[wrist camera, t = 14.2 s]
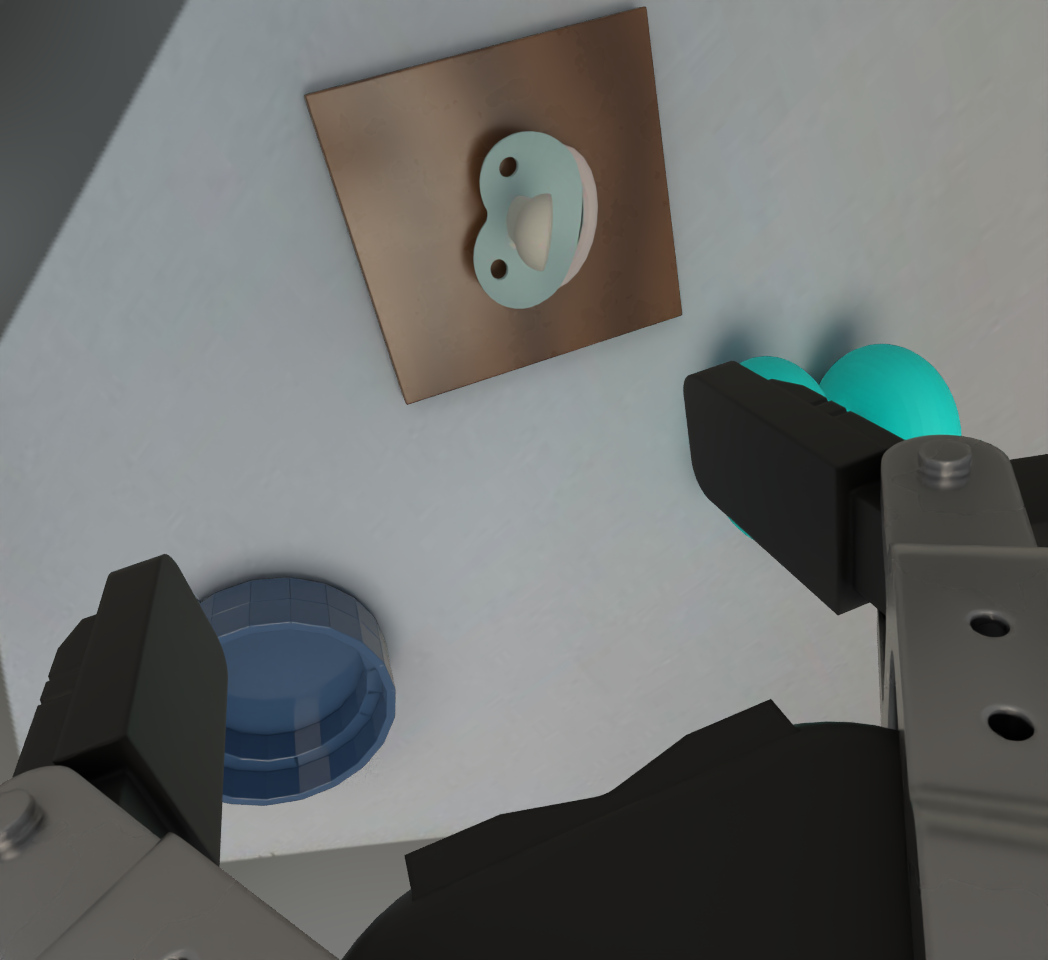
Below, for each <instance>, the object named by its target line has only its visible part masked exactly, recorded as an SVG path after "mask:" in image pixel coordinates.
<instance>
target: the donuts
mask: <svg viewBox="0 0 1048 960" xmlns="http://www.w3.org/2000/svg"><path fill="white" fill-rule="evenodd" d="M739 364H741V365H743V366H744V367H746V368H748V369H750V370H751V371H753V372H755V373H757V374H759V375H760V376H762V377H764V378H766V379H767V380H770V379H776V380H781V381H785V382H790V383H795V384H800V385H804V386H806V387H808V388H810V389H811V390H813V391H815V392H817V393H819V394H821V395H823V396H824V397H826V398H827V400H828V401H831V400H832V401H834V402H836V403H837V404H839V405H841V406H843V407H845V408H846V411H847V412H848V411H852V412H854V413H856V414H858V415H860V416H862V417H864V418H865V419H867V420H869V421H871V422H873V423H875V424H877V425H878V426H880V427H882V428H884V429H886V430H888V431H890V432H891V433H893V434H895V435H897V436H899V437H901V438H903V439H904V440H907V439H911V438H915V437H920V436H927V435H957V436H961V425H960V420H959V414H958V410H957V407H956V404H955V401H954V399H953V396H952V394H951V392H950V390H949V388H948V386H947V384H946V383H945V381H944V380H943V378H942V377H941V375H940V374H939V373H938V372H937V370H936V369H935V368H934V367H933V366H932V365H931V364H930V363H929V362H927V361H926V360H925V359H924V358H922V357H921V356H919V355H918V354H916V353H914V352H912V351H910V350H908V349H906V348H903V347H900V346H895V345H890V344H874V345H868V346H864V347H861V348H858V349H855V350H853V351H851V352H849V353H848V354H846V355H845V356H843V357H842V358H840V359H839V360H838V361H837V362H836V363H835V364H834V365H833V366H832V367H831V368H830V369H829V370H828V372H827V373H826V374H825V376H824V377H823V379H822V380H821V382H820V384H819V385H818V383H817V382H816V381H815V380H814V379H813V378H812V377H811V376H810V375H809V374H808V373H807V372H806V371H804V370H803V369H802V368H800V367H799V366H797V365H796V364H794V363H792V362H790V361H787V360H785V359H782V358H778V357H771V356H761V357H754V358H750V359H748V360H745V361H743V362H741V363H739ZM728 518H729V517H728ZM729 519H730V518H729ZM730 520H731V519H730ZM731 522H732V523H733V524H734V525H735V526H736V527H737V528H738V529H739V530H740V531H742V532H743V533H744V534H745V535H747V536H748V537H750V536H749V535H748V534H747V533H746V532H745V531H744V530H742V529H741V528H740V527H739V526H738V525H737V524H736V523H735V522H734V521H732V520H731ZM750 538H751V537H750ZM751 539H752V538H751ZM753 540H754V539H753Z"/></svg>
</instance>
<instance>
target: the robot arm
mask: <svg viewBox="0 0 1048 960" xmlns="http://www.w3.org/2000/svg"><path fill="white" fill-rule="evenodd" d="M683 392H684V401H685V410H686V418H687V426H688V435H689V443H690V452H691V460H692V466H693V470H694V473H695V476H696V479H697V481H698V484H699V486H700V488H701V489H702V491H703V492H704V494H705V495H706V497H707V498H708V499H709V500H710V501H711V502H712V503H714V504H715V505H716V506H717V507H718V508H719V509H720V510H721V511H722V512H724V513H725V514H726V515H727V516H728V517H729V518H730V519H731V520H732V521H734V522H735V523H736V524H737V525H738V526H739V527H740V528H741V529H742V530H744V531H745V532H746V533H747V534H748V535H749V536H750V537H751V538H752V539H754V540H755V541H756V542H757V543H758V544H759V545H760V546H761V547H762V548H764V549H765V550H766V551H767V552H768V553H769V554H770V555H771V556H772V557H774V558H775V559H776V560H777V561H778V562H779V563H780V564H781V565H782V566H784V567H785V568H786V569H787V570H788V571H789V572H790V573H791V574H792V575H794V576H795V577H796V578H797V579H798V580H799V581H800V582H801V583H802V584H804V585H805V586H806V587H807V588H808V589H809V590H810V591H811V592H812V593H814V594H815V595H816V596H817V597H818V598H819V599H820V600H821V601H822V602H824V603H825V604H826V605H827V606H828V607H829V608H830V609H831V610H832V611H834V612H835V613H836V614H837V615H840V614H843V613H845V612H848V611H850V610H852V609H855V608H857V607H860V606H862V605H864V604H867V603H869V602H870V603H871V604H873V605H874V606H875V607H876V608H877V644H878V667H879V689H880V712H881V727H880V726H876V725H869V724H861V723H852V722H814V723H801V724H795V725H793V724H792V723H791V722H790V721H789V720H788V718H787V717H786V716H785V715H784V714H783V713H782V711H781V710H780V709H779V708H778V707H777V706H776V704H775V703H774V702H773V701H772V700H771V699H770V700H767V701H765V702H763V703H760V704H758V705H756V706H753V707H751V708H749V709H746V710H744V711H742V712H739V713H737V714H735V715H732V716H730V717H728V718H725V719H723V720H721V721H718V722H716V723H714V724H711V725H709V726H706V727H704V728H702V729H699V730H697V731H695V732H692V733H690V734H688V735H686V736H685V737H683V738H682V739H680V740H679V741H678V742H676V743H675V744H674V745H672V746H671V747H670V748H668V749H667V750H666V751H664V752H663V753H662V754H660V755H659V756H658V757H656V758H655V759H654V760H652V761H651V762H650V763H648V764H647V765H646V766H644V767H643V768H642V769H640V770H639V771H638V772H636V773H635V774H634V775H632V776H631V777H630V778H628V779H627V780H626V781H624V782H623V783H622V784H620V785H619V786H618V787H616V788H615V789H613V790H612V791H610V792H609V793H606V794H604V795H601V796H598V797H593V798H588V799H582V800H577V801H571V802H566V803H560V804H555V805H549V806H544V807H538V808H533V809H527V810H522V811H516V812H511V813H506V814H500V815H498V816H495V817H493V818H491V819H488V820H486V821H484V822H481V823H479V824H477V825H474V826H472V827H470V828H467V829H465V830H463V831H460V832H458V833H456V834H453V835H451V836H449V837H446V838H444V839H442V840H439V841H437V842H435V843H432V844H430V845H427V846H425V847H423V848H420V849H419V850H416V851H413V852H411V853H409V854H406V855H405V860H406V865H407V871H408V876H409V881H410V886H411V890H409V891H408V892H406V893H405V894H404V895H402V896H401V897H400V898H399V899H397V900H396V901H395V902H394V903H393V904H391V905H390V906H389V907H388V908H387V909H386V910H385V911H384V912H383V913H381V914H380V915H379V916H378V917H377V918H376V919H375V920H374V921H373V923H371V925H370V926H369V927H368V928H367V929H366V930H365V931H364V932H363V933H362V934H361V936H360V937H359V938H358V939H357V940H356V942H354V944H353V945H352V947H351V948H350V949H349V950H348V952H347V953H346V954H345V956H344V957H343V958H342V960H1048V454H1045V455H1038V456H1032V457H1025V458H1019V459H1012V460H1009V458H1008V457H1007V455H1006V454H1005V453H1004V452H1003V451H1001V450H1000V449H998V448H997V447H995V446H993V445H991V444H989V443H986V442H984V441H981V440H978V439H974V438H970V437H964V436H957V435H927V436H920V437H915V438H911V439H907V440H904V439H903V438H901V437H899V436H897V435H895V434H893V433H891V432H890V431H888V430H886V429H884V428H882V427H880V426H878V425H877V424H875V423H873V422H871V421H869V420H867V419H865V418H864V417H862V416H860V415H858V414H856V413H854V412H852V411H848V412H847V411H846V408H845V407H843V406H841V405H839V404H837V403H836V402H834V401H832V400H831V401H828V400H827V398H826V397H824V396H823V395H821V394H819V393H817V392H815V391H813V390H811V389H810V388H808V387H806V386H804V385H800V384H795V383H790V382H785V381H781V380H776V379H770V380H767V379H766V378H764V377H762V376H760V375H759V374H757V373H755V372H753V371H751V370H750V369H748V368H746V367H744V366H743V365H741V364H739V363H737V362H735V361H729V362H726V363H723V364H720V365H717V366H714V367H712V368H709V369H706V370H703V371H700V372H697V373H694V374H691V375H688V376H687V377H686V379H685V381H684V387H683ZM48 677H49V680H50V681H48V682H46V684H45V687H44V690H43V692H42V695H41V698H40V701H41V705H38V707H37V709H36V712H35V715H34V718H33V721H32V724H31V726H30V729H29V732H28V735H27V738H26V741H25V743H24V746H23V749H22V752H21V755H20V757H19V760H18V763H17V766H16V769H15V772H14V775H13V778H11V779H9V780H7V781H6V782H4V783H2V784H1V785H0V960H339V959H338V958H337V957H335V956H334V955H333V954H331V953H330V952H329V951H328V950H326V949H325V948H324V947H322V946H321V945H320V944H318V943H317V942H316V941H314V940H313V939H312V938H311V937H309V936H308V935H307V934H305V933H304V932H303V931H302V930H300V929H299V928H298V927H296V926H295V925H294V924H292V923H291V922H290V921H288V920H287V919H286V918H284V917H283V916H282V915H281V914H279V913H278V912H277V911H276V910H274V909H273V908H272V907H270V906H269V905H268V904H266V903H265V902H264V901H262V900H261V899H260V898H259V897H257V896H256V895H254V894H253V893H252V892H251V891H249V890H248V889H247V888H245V887H244V886H243V885H242V884H240V883H239V882H238V881H237V880H235V879H234V878H232V877H231V876H230V875H229V874H227V873H226V872H225V871H224V870H222V869H221V868H220V867H219V864H220V842H221V820H222V798H223V777H224V755H225V733H226V711H227V690H228V670H227V664H226V659H225V656H224V652H223V649H222V646H221V644H220V641H219V639H218V637H217V635H216V633H215V631H214V629H213V628H212V626H211V624H210V622H209V620H208V619H207V617H206V615H205V613H204V612H203V610H202V608H201V606H200V604H199V603H198V601H197V599H196V597H195V595H194V594H193V592H192V590H191V588H190V586H189V585H188V583H187V581H186V579H185V578H184V576H183V574H182V572H181V570H180V569H179V567H178V565H177V564H176V562H175V561H174V560H173V559H172V558H171V557H170V556H169V555H167V554H163V555H160V556H157V557H154V558H152V559H149V560H146V561H143V562H140V563H137V564H134V565H131V566H128V567H125V568H122V569H120V570H117V571H114V572H111V573H110V574H109V576H108V578H107V581H106V585H105V588H104V591H103V594H102V598H101V601H100V604H99V608H98V611H97V614H96V615H93V616H90V617H87V618H85V619H82V620H81V621H80V622H79V624H78V625H77V626H76V627H75V629H74V630H73V631H72V632H71V633H70V635H69V636H68V637H67V638H66V639H65V641H64V642H63V643H62V644H61V646H60V647H59V648H58V650H57V653H56V656H55V658H54V661H53V664H52V667H51V670H50V673H49V675H48Z"/></svg>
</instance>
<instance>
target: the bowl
mask: <svg viewBox="0 0 1048 960" xmlns="http://www.w3.org/2000/svg"><path fill="white" fill-rule="evenodd" d="M200 606H201V608H202V610H203V612H204V613H205V615H206V617H207V619H208V620H209V622H210V624H211V626H212V628H213V629H214V631H215V633H216V635H217V637H218V639H219V641H220V644H221V646H222V649H223V652H224V656H225V659H226V664H227V670H228V690H227V711H226V733H225V755H224V777H223V798H222V802H224V803H229V804H241V805H260V806H265V805H266V806H267V805H273V804H279V803H285V802H291V801H297V800H301V799H305V798H307V797H310V796H313V795H315V794H318V793H320V792H323V791H325V790H328V789H330V788H333V787H335V786H337V785H338V784H340V783H341V782H342V781H344V780H345V779H347V778H348V777H350V776H351V775H353V774H354V773H356V772H357V771H359V770H360V769H361V768H363V767H364V766H365V765H366V764H367V762H368V761H369V760H370V759H371V758H372V757H373V755H374V754H375V753H376V752H377V751H378V750H379V748H380V747H381V746H382V745H383V743H384V742H385V739H386V737H387V735H388V732H389V730H390V727H391V725H392V723H393V720H394V718H395V694H396V689H395V685H394V680H393V675H392V670H391V665H390V661H389V656H388V651H387V646H386V642H385V640H384V638H383V635H382V633H381V630H380V628H379V626H378V623H377V621H376V619H375V618H374V617H373V616H372V615H371V614H370V613H369V612H368V611H367V610H366V609H365V608H364V607H363V606H362V605H361V604H360V603H359V601H358V600H357V599H355V598H354V597H352V596H350V595H348V594H346V593H344V592H341V591H339V590H337V589H335V588H333V587H331V586H329V585H327V584H324V583H319V582H314V581H308V580H302V579H296V578H289V577H285V578H273V579H262V580H252V581H248V582H245V583H242V584H239V585H236V586H233V587H231V588H228V589H225V590H222V591H219V592H216V593H215V594H213V595H211V596H210V597H208V598H207V599H205V600H204V601H203V602H201V603H200Z"/></svg>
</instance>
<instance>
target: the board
mask: <svg viewBox="0 0 1048 960" xmlns="http://www.w3.org/2000/svg"><path fill="white" fill-rule="evenodd" d="M304 99H305V102H306V105H307V108H308V111H309V114H310V117H311V120H312V123H313V126H314V129H315V132H316V135H317V138H318V141H319V144H320V147H321V150H322V153H323V156H324V159H325V162H326V165H327V168H328V171H329V174H330V177H331V180H332V183H333V187H334V190H335V193H336V196H337V199H338V202H339V205H340V208H341V211H342V214H343V217H344V220H345V223H346V226H347V229H348V232H349V235H350V238H351V241H352V244H353V247H354V250H355V253H356V256H357V259H358V262H359V265H360V268H361V271H362V274H363V277H364V280H365V283H366V286H367V289H368V292H369V296H370V299H371V302H372V305H373V308H374V311H375V314H376V317H377V320H378V323H379V326H380V329H381V332H382V335H383V338H384V341H385V344H386V347H387V350H388V353H389V356H390V359H391V362H392V365H393V368H394V371H395V374H396V377H397V380H398V383H399V386H400V389H401V392H402V395H403V398H404V400H405V403H406V404H407V405H408V404H411V403H414V402H417V401H420V400H423V399H426V398H430V397H433V396H436V395H439V394H442V393H445V392H448V391H451V390H454V389H457V388H460V387H463V386H466V385H469V384H473V383H476V382H479V381H482V380H485V379H488V378H491V377H494V376H497V375H500V374H503V373H506V372H509V371H512V370H515V369H519V368H522V367H525V366H528V365H531V364H534V363H537V362H540V361H543V360H546V359H549V358H552V357H555V356H558V355H562V354H565V353H568V352H571V351H574V350H577V349H580V348H583V347H586V346H589V345H592V344H595V343H598V342H601V341H604V340H608V339H611V338H614V337H617V336H620V335H623V334H626V333H629V332H632V331H635V330H638V329H641V328H644V327H647V326H651V325H654V324H657V323H660V322H663V321H666V320H669V319H672V318H675V317H678V316H681V315H682V308H681V299H680V291H679V282H678V274H677V265H676V256H675V248H674V239H673V231H672V222H671V214H670V205H669V197H668V188H667V180H666V171H665V163H664V154H663V145H662V137H661V128H660V120H659V111H658V103H657V94H656V86H655V77H654V69H653V60H652V52H651V43H650V34H649V26H648V17H647V9H646V7H645V6H644V7H639V8H634V9H631V10H627V11H623V12H619V13H615V14H611V15H608V16H604V17H600V18H596V19H592V20H588V21H584V22H581V23H577V24H573V25H569V26H565V27H561V28H558V29H554V30H550V31H546V32H542V33H538V34H535V35H531V36H527V37H523V38H519V39H515V40H512V41H508V42H504V43H500V44H496V45H492V46H489V47H485V48H481V49H477V50H473V51H469V52H465V53H462V54H458V55H454V56H450V57H446V58H442V59H439V60H435V61H431V62H427V63H423V64H419V65H416V66H412V67H408V68H404V69H400V70H396V71H393V72H389V73H385V74H381V75H377V76H373V77H370V78H366V79H362V80H358V81H354V82H350V83H346V84H343V85H339V86H335V87H331V88H327V89H323V90H320V91H316V92H312V93H308V94H305V95H304ZM524 131H533V132H540V133H544V134H547V135H550V136H552V137H553V138H555V139H557V140H558V141H560V142H561V143H562V144H564V145H567V146H570V147H572V148H574V149H575V150H576V151H578V152H579V153H580V154H581V155H582V156H583V157H584V159H585V160H586V162H587V164H588V165H589V167H590V169H591V171H592V175H593V178H594V181H595V185H596V191H597V201H598V213H597V225H596V230H595V234H594V239H593V243H592V245H591V248H590V251H589V253H588V256H587V258H586V260H585V262H584V263H583V265H582V266H581V268H580V270H579V271H578V273H577V274H576V275H575V276H574V277H573V278H572V279H571V280H570V281H569V282H568V283H567V284H565V285H563V286H561V287H560V288H558V289H557V290H556V292H555V293H554V294H553V295H551V296H550V297H549V298H548V299H546V300H544V301H543V302H541V303H540V304H538V305H535V306H533V307H529V308H524V309H514V308H510V307H506V306H503V305H501V304H499V303H497V302H496V301H495V300H493V299H492V298H491V297H490V296H489V295H488V294H487V293H486V292H485V291H484V290H483V288H482V286H481V284H480V283H479V281H478V279H477V276H476V273H475V268H474V262H473V254H474V246H475V242H476V238H477V236H478V234H479V231H480V229H481V228H482V226H483V225H484V223H485V222H486V220H487V209H486V208H485V206H484V203H483V200H482V197H481V193H480V183H479V179H480V172H481V167H482V164H483V162H484V160H485V158H486V156H487V154H488V153H489V151H490V150H491V149H492V147H493V146H494V145H495V144H497V143H498V142H499V141H500V140H502V139H503V138H505V137H507V136H509V135H511V134H514V133H518V132H524ZM516 165H517V164H516V161H515V159H514V158H513V157H507V158H505V159H504V160H502V162H501V163H500V166H499V171H500V174H501V175H502V176H503V177H508V176H511V175H512V174H513V173H514V172H515V170H516ZM490 270H491V274H492V276H493V277H494V278H496V279H500V278H502V277H504V275H505V274H506V270H507V268H506V264H505V262H504V261H503V260H501V259H497V260H495V261H494V262H493V263H492V265H491V269H490Z"/></svg>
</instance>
